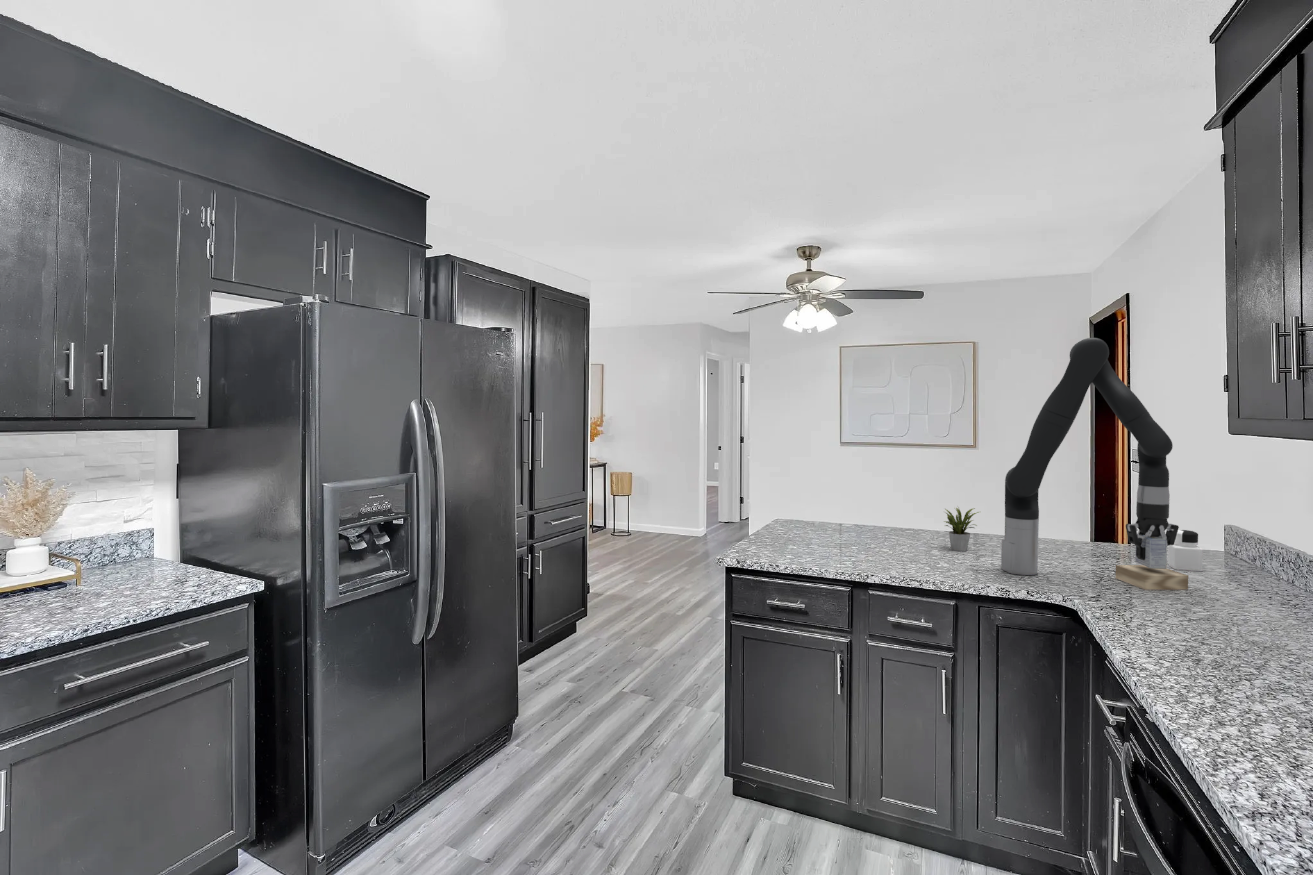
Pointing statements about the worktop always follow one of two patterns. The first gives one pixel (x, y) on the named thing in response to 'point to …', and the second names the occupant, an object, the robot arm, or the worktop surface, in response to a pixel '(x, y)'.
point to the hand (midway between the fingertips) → (1150, 559)
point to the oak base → (1152, 577)
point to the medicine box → (1155, 553)
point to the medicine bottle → (1185, 552)
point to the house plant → (959, 530)
